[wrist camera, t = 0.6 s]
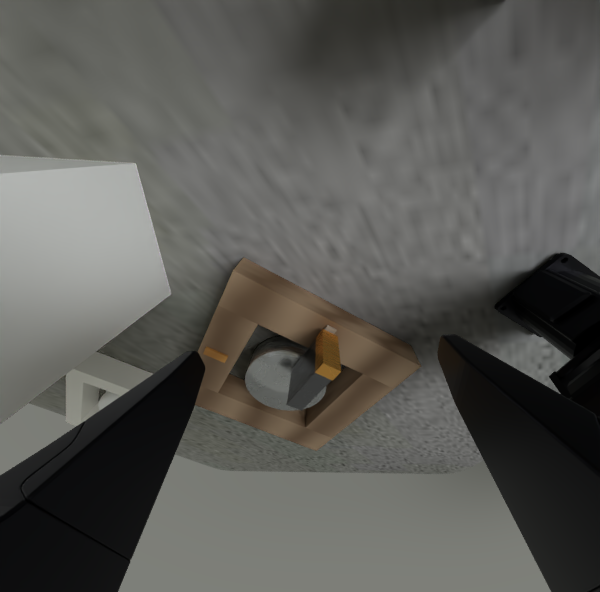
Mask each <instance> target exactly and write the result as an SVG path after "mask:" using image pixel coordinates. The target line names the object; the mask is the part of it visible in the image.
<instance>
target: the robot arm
mask: <svg viewBox="0 0 600 592" xmlns="http://www.w3.org/2000/svg"><path fill="white" fill-rule="evenodd" d="M563 258H564V259H563ZM562 259H563V260H562ZM502 306H503V307H502ZM501 307H502V308H501ZM495 309H496V310H497V311H498V312H500V313H501V314H503V315H505V316H506V317H508V318H509V319H511V320H513V321H514V322H516V323H518V324H519V325H521V326H522V327H524V328H526V329H527V330H529V331H531V332H532V333H534V334H535V335H537V336H539V337H543V338H544V339H546V340H547V341H548V342H549V343H551V344H552V345H553V346H555V347H556V348H557V349H558V350H560V351H561V352H562V353H563V354H565V355H566V356H567V357H568V358H570V359H571V360H570V361H569V362H567V363H566V364H565V365H564V366H563V367H562V368H560V369H559V370H558V371H557V372H553V373H552V374H551V375H550V376H549V377H550V379H551V380H552V382H553V383H554V385H555V386H556V387H557V389H558V390H559V392H560V393H561V394H559V393H557V392H556V391H554V390H552V389H550V388H549V387H547V386H545V385H543V384H542V383H540V382H538V381H536V380H535V379H533V378H531V377H529V376H528V375H526V374H524V373H522V372H521V371H519V370H517V369H515V368H514V367H512V366H510V365H508V364H507V363H505V362H503V361H501V360H500V359H498V358H496V357H494V356H493V355H491V354H489V353H487V352H485V351H484V350H482V349H480V348H478V347H477V346H475V345H473V344H471V343H470V342H468V341H466V340H464V339H463V338H461V337H459V336H457V335H455V334H451V335H442V336H441V337H440V342H439V348H438V360H439V362H440V365H441V368H442V370H443V373H444V376H445V378H446V381H447V384H448V386H449V389H450V391H451V394H452V397H453V399H454V402H455V404H456V406H457V408H458V410H459V412H460V414H461V416H462V418H463V420H464V422H465V424H466V426H467V428H468V430H469V432H470V434H471V436H472V438H473V440H474V442H475V443H476V445H477V447H478V449H479V451H480V453H481V455H482V457H483V459H484V461H485V463H486V465H487V467H488V469H489V471H490V473H491V475H492V477H493V479H494V481H495V482H496V485H497V486H498V488H499V490H500V492H501V494H502V496H503V498H504V500H505V502H506V504H507V506H508V508H509V510H510V512H511V514H512V516H513V518H514V520H515V521H516V524H517V525H518V527H519V529H520V531H521V533H522V535H523V537H524V539H525V541H526V543H527V545H528V547H529V549H530V551H531V553H532V555H533V557H534V559H535V561H536V563H537V565H538V567H539V569H540V571H541V572H542V574H543V576H544V578H545V580H546V582H547V584H548V586H549V588H550V590H551V592H600V276H598V275H597V274H596V273H594V272H593V271H591V270H590V269H589V268H587V267H586V266H585V265H583V264H582V263H581V262H579V261H578V260H577V259H575V258H574V257H573V256H571V255H569V254H566V253H560V254H558V255H556V256H555V257H554V258H552V259H551V260H550V261H549V262H548V263H546V264H545V265H544V266H543V267H541V268H540V269H539V270H538V271H536V272H535V273H534V274H533V275H531V276H530V277H529V278H528V279H527V280H525V281H524V282H523V283H522V284H520V285H519V286H518V287H517V288H515V289H514V290H513V291H512V292H510V293H509V294H508V295H507V296H506V297H504V298H503V299H502V300H501V301H499V302H498V303H497V304H496V305H495ZM204 373H205V364H204V362H203V360H202V358H201V356H200V355H199V353H198V352H197V351H188V352H185V353H184V354H182V355H181V356H179V357H178V358H176V359H175V360H173V361H172V362H170V363H169V364H167V365H166V366H164V367H163V368H162V369H160V370H159V371H157V372H156V373H154V374H153V375H151V376H150V377H148V378H147V379H145V380H144V381H142V382H141V383H139V384H138V385H137V386H135V387H134V388H132V389H131V390H129V391H128V392H126V393H125V394H123V395H122V396H120V397H119V398H117V399H116V400H115V401H113V402H112V403H110V404H109V405H107V406H106V407H104V408H103V409H101V410H100V411H98V412H97V413H95V414H94V415H92V416H91V417H90V418H88V419H87V420H86V421H84V422H82V423H81V424H79V425H78V426H76V427H75V428H73V429H72V430H70V431H69V432H67V433H66V434H64V435H63V436H61V437H60V438H58V439H57V440H56V441H54V442H52V443H51V444H49V445H48V446H46V447H45V448H43V449H41V450H40V451H38V452H37V453H35V454H34V455H32V456H30V457H29V458H28V459H26V460H24V461H23V462H21V463H19V464H18V465H16V466H15V467H13V468H12V469H10V470H8V471H7V472H5V473H4V474H2V475H0V592H118V590H119V588H120V585H121V583H122V581H123V578H124V576H125V573H126V571H127V569H128V566H129V564H130V560H131V558H132V556H133V554H134V551H135V549H136V546H137V544H138V542H139V539H140V536H141V534H142V532H143V529H144V527H145V525H146V522H147V520H148V518H149V515H150V513H151V510H152V508H153V505H154V503H155V500H156V498H157V496H158V493H159V491H160V489H161V486H162V483H163V481H164V479H165V476H166V474H167V472H168V469H169V467H170V464H171V462H172V460H173V457H174V455H175V452H176V450H177V448H178V445H179V443H180V440H181V438H182V435H183V433H184V431H185V428H186V426H187V423H188V421H189V419H190V416H191V414H192V411H193V409H194V406H195V403H196V400H197V396H198V393H199V390H200V387H201V383H202V380H203V377H204Z"/></svg>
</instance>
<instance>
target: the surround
mask: <svg viewBox="0 0 600 592" xmlns="http://www.w3.org/2000/svg"><path fill="white" fill-rule="evenodd" d="M257 325H260V326H263V327H265V328H267V329H269V330H271V331H273V332H275V333H277V334H279V335H282V336H284V337H286V338H288V339H290V340H292V341H294V342H296V343H298V344H301V345H303V346H305V347H307V348H309V347H310V345H311V344H312V343H313V342H314V340H315V339H316V337H317V336H318V334H319V333H320V332H321V330H322V329H324V330H326V331H328V332H330V333H332V334H334V335H336V336H338V344H339V354H340V363H341V364H343V365H345V366H346V367H345V368H344V369H343V370H342V371H341V372H340V373H339V375H338V376H337V377H336V378H335V379H334V380H333V381H331V382H330V383H329V384H328V385H327V386H326V392H325V395H324V396H323V398H322V399H321V400H320V401H319V402H318V403H317V404H315V405H313V406H311V407H309V408H306V409H303V410H302V411H301V410H294V411H287V410H279V409H275V408H272V407H269V406H267V405H264V404H262V403H261V402H259V401H258V400H256V399H255V398H254V397H253V396H252V395H251V394H250V392H249V391H248V389H247V387H246V384H245V380H243V379H240V378H238V377H236V376H233V375H231V374H229V373H230V371H231V370H232V368H233V366H234V364H235V363H236V361H237V359H238V358H239V356H240V354H241V352H242V351H243V349H244V347H245V346H246V344H247V342H248V340H249V339H250V337H251V335H252V334H253V332H254V330H255V328H256V327H257ZM198 353H199V355H200V356H201V358H202V360H203V362H204V364H205V373H204V377H203V380H202V383H201V387H200V390H199V393H198V396H197V400H196V403H195V405H197V406H200V407H202V408H205V409H207V410H210V411H213V412H215V413H218V414H221V415H223V416H226V417H229V418H231V419H234V420H236V421H239V422H242V423H244V424H247V425H250V426H252V427H255V428H258V429H260V430H263V431H265V432H268V433H271V434H273V435H276V436H279V437H281V438H284V439H286V440H289V441H292V442H294V443H297V444H300V445H302V446H305V447H308V448H310V449H313V450H315V451H317V450H318V449H319V448H321V447H322V446H323V445H324V444H326V443H327V442H328V441H329V440H331V439H332V438H333V437H334V436H335V435H337V434H338V433H339V432H340V431H342V430H343V429H344V428H345V427H347V426H348V425H349V424H350V423H352V422H353V421H354V420H355V419H357V418H358V417H359V416H360V415H362V414H363V413H364V412H365V411H367V410H368V409H369V408H370V407H372V406H373V405H374V404H375V403H377V402H378V401H379V400H380V399H381V398H383V397H384V396H385V395H386V394H388V393H389V392H390V391H391V390H393V389H394V388H395V387H396V386H398V385H399V384H400V383H401V382H403V381H404V380H405V379H406V378H408V377H409V376H410V375H411V374H413V373H414V372H415V371H416V370H418V369H419V368H420V367H421V365H420V363H419V361H418V359H417V357H416V355H415V353H414V351H413V349H412V347H411V345H409V344H407V343H405V342H403V341H401V340H400V339H398V338H396V337H394V336H392V335H390V334H388V333H386V332H384V331H382V330H381V329H379V328H377V327H375V326H373V325H371V324H369V323H367V322H365V321H363V320H362V319H360V318H358V317H356V316H354V315H352V314H350V313H348V312H346V311H344V310H343V309H341V308H339V307H337V306H335V305H333V304H331V303H329V302H327V301H325V300H324V299H322V298H320V297H318V296H316V295H314V294H312V293H310V292H308V291H306V290H305V289H303V288H301V287H299V286H297V285H295V284H293V283H291V282H289V281H287V280H286V279H284V278H282V277H280V276H278V275H276V274H274V273H272V272H270V271H268V270H267V269H265V268H263V267H261V266H259V265H257V264H255V263H253V262H251V261H249V260H248V259H246V258H243V259H242V260H241V261H240V262H239V264H238V265H237V266H236V267H235V269H234V270H233V272H232V274H231V276H230V279H229V281H228V283H227V286H226V288H225V290H224V292H223V295H222V297H221V299H220V302H219V304H218V306H217V308H216V311H215V313H214V315H213V318H212V320H211V322H210V325H209V327H208V329H207V331H206V334H205V336H204V338H203V341H202V343H201V345H200V347H199V350H198Z"/></svg>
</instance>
